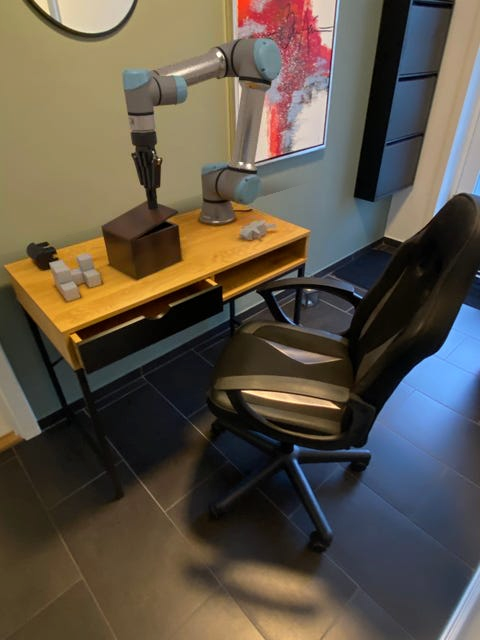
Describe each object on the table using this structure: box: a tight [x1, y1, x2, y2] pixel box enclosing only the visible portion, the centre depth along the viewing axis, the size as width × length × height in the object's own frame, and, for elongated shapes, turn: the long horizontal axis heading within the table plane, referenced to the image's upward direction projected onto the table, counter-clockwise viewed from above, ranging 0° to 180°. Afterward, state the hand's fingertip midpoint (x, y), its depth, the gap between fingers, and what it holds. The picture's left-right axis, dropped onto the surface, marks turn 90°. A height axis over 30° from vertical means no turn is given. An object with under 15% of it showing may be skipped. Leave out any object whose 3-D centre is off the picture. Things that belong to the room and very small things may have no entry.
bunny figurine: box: [238, 218, 277, 242], centre depth 155 cm, size 10×5×15 cm
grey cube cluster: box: [49, 252, 103, 302], centre depth 121 cm, size 12×12×8 cm
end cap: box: [25, 241, 60, 270], centre depth 135 cm, size 10×7×7 cm
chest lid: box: [100, 200, 179, 242], centre depth 129 cm, size 20×16×1 cm
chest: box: [101, 220, 183, 281], centre depth 134 cm, size 19×16×13 cm
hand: (153, 208), depth 131 cm, fingers closed
